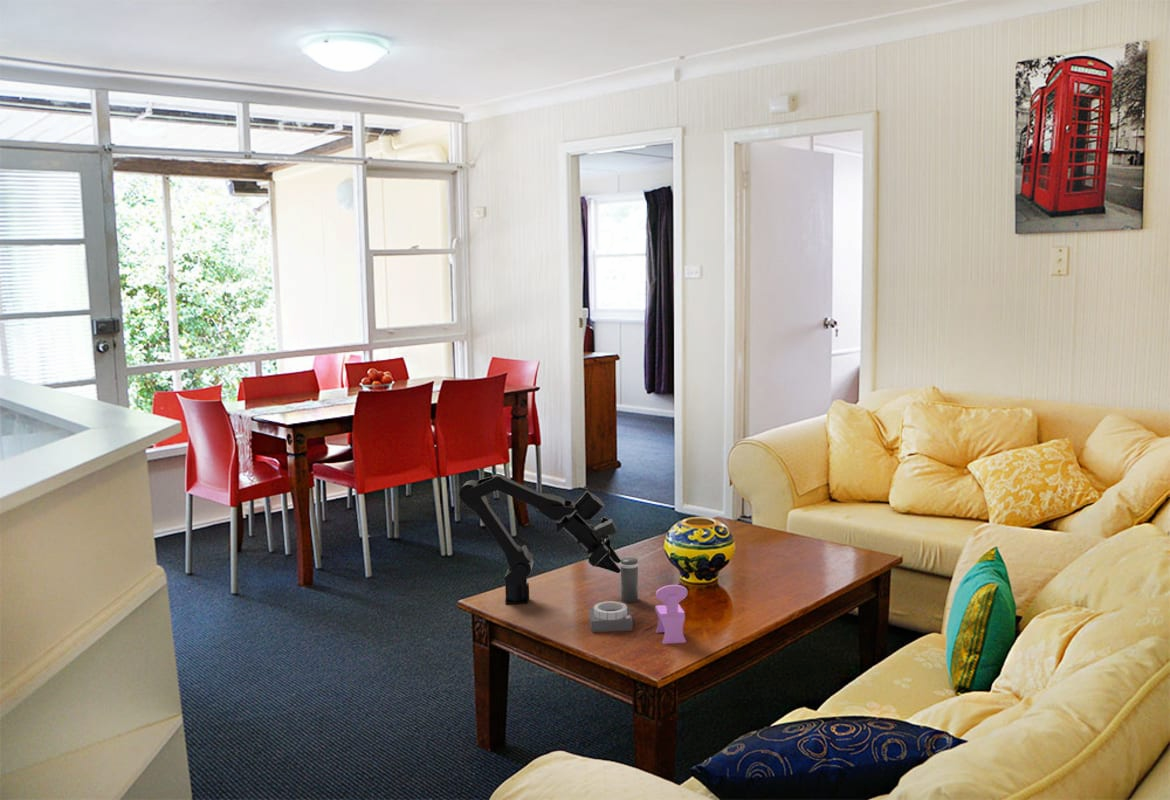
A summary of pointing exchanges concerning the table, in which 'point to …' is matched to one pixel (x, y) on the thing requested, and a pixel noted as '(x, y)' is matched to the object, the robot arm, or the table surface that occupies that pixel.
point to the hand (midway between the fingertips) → (619, 566)
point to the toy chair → (671, 613)
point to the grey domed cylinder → (629, 580)
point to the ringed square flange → (610, 617)
